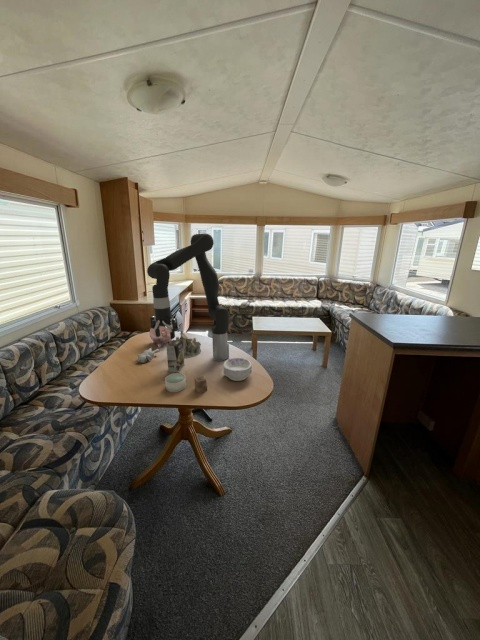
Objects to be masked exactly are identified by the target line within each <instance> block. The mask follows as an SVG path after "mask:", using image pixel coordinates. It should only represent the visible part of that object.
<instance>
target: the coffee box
mask: <svg viewBox="0 0 480 640" xmlns="http://www.w3.org/2000/svg"><path fill="white" fill-rule="evenodd" d="M165 347H166V348H165V349H166V358H167V372H172V373H180V371H181V370H182V369H183V368H184V367H185V364H186V363H185V358H184V351H183V340H176V339H172V341H171V342H170V343H166V344H165Z"/></svg>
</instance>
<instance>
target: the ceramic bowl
mask: <svg viewBox="0 0 480 640" xmlns="http://www.w3.org/2000/svg"><path fill="white" fill-rule="evenodd" d="M164 381H165V382H164V383H165V390H166V391H167V392H169V393H178V392H181V391H183V390H185V388H186V387H187V382H186V381H187V380H186V375H185V374H184V373H180V372H172V373H169V375H167V376H166V377H164Z"/></svg>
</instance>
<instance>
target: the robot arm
mask: <svg viewBox="0 0 480 640" xmlns="http://www.w3.org/2000/svg"><path fill="white" fill-rule="evenodd" d="M214 244H215V243H214V238H213V236H212V235H211V234H209V233H207V232H206V233H205V232H204V233H195V234H193V235H192V236H191V238H190V244H189V245H188V246H185V247H182V248H181V249H178V250H176V251H174V252H172V253H171V254H169V255H167V256H165V257H164V258H161V259H158V260H157V261H156V260H155V261H154V262H152V263H150V264H149V265H148V267H147V270H146V273H147V276H148V277H150V278H151V279H153V280H154V279H155V280H156V281H155V282H156V283H155V284H154V285H153V286H152V287H151V288H152V298H153V299H152V301H153V312H154V315H153V316H150V318H149V319H150V321H149V322H150V329H151V328H153V329H154V330H155V334H156V337H159V336H160V329H159V327H160V326H164V327H167V329H169V330H170V337H171V339H172V340H174V339H175V338H176V333H175V332H176V331H178V330H179V327H178V320H177V318H176V317H175V318H172V317H171V314H172V311H171V303H170V297H169V282H170V272H171V271H175V270H177V269H178V268H180V267H182V266H183V265H184V264H186V263H187V262H189V261H190V260H192V259H194V258H195V261H196V264H197V268H198V271H199V275H200V279H201V283H202V286H203V289H204V290H203V291H204V294H205V295H204V296H205V297H206V298H205V299H206V303H207V308H208V314H209V315H208V316H209V318H210V319H212V320H213V321H214V322H215V325H214V326H212V330H211V335H212V337H211V338H212V358H213V360H214V361H218V362H220V361H227V360H228V359H230V346H229V345H230V344H229V342H228V330H229V329H228V328H229V320H230V319H229V318H230V317H229V315H230V314H229V310H228V309H227V308H226V307H223V306H221V305H220V302H219V297H218V294H219V290H220V282H219V277H218V273H217V271H216V270H215V268H214V266H213V265H212V263H211V262H210V261H209V259H208V258H207V253H206V252H208V251H211V250H212V249H213V247H214ZM168 325H169V326H168Z"/></svg>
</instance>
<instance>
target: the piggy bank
mask: <svg viewBox="0 0 480 640" xmlns="http://www.w3.org/2000/svg"><path fill="white" fill-rule="evenodd" d="M168 326H170V325H168ZM159 329H160V336H159V337H156V334H155V330H154V329H153V328H151V327H150V330H149V338H150V339H151V341H152V344H153V345H157V348H162V347H163V345H166V344H168V343H170V342H171V341H172V340H173V339H171V337H170V330H169V329H167V327H164V326H160V327H159Z"/></svg>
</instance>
